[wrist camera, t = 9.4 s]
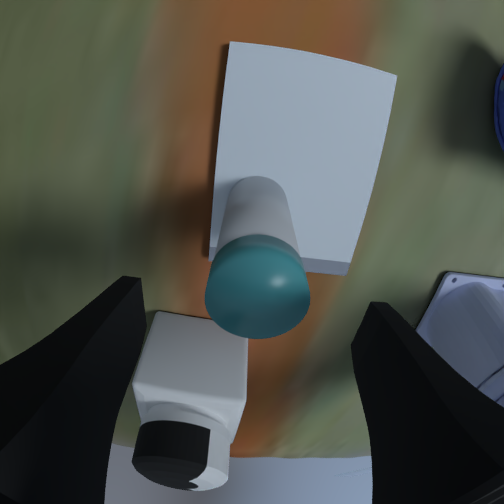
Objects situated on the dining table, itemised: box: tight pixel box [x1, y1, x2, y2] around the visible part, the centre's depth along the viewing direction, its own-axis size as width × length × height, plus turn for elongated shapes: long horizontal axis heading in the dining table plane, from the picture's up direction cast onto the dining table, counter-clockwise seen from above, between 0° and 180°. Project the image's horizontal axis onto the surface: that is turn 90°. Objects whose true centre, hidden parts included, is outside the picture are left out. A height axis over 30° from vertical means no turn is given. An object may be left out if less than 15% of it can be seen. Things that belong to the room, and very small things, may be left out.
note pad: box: [209, 42, 397, 276], centre depth 17 cm, size 9×13×1 cm
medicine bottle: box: [132, 311, 248, 491], centre depth 19 cm, size 7×7×12 cm
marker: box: [205, 176, 310, 339], centre depth 14 cm, size 4×4×8 cm
